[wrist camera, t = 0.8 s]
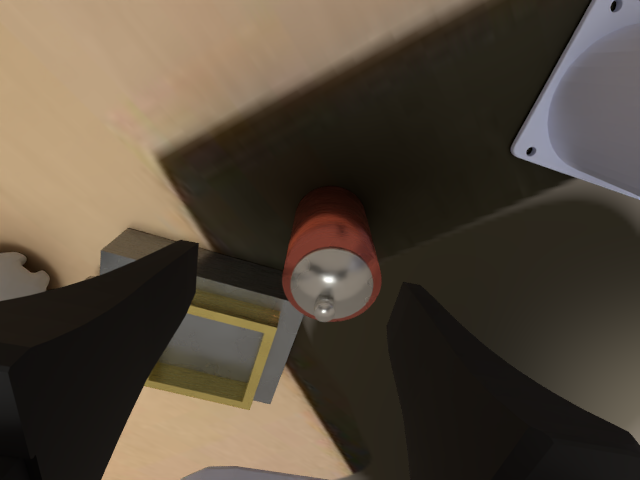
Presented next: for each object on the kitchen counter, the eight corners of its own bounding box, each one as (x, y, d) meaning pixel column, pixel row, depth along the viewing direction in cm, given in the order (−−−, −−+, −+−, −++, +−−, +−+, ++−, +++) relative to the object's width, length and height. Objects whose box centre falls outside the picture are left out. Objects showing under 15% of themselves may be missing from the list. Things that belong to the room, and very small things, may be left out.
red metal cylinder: (376, 198, 21) (401, 266, 14) (351, 259, 23) (362, 346, 16) (306, 176, 21) (296, 235, 14) (286, 240, 23) (268, 321, 16)
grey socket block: (309, 278, 24) (305, 322, 20) (275, 371, 28) (266, 423, 24) (102, 220, 22) (52, 255, 18) (97, 327, 26) (55, 375, 22)
